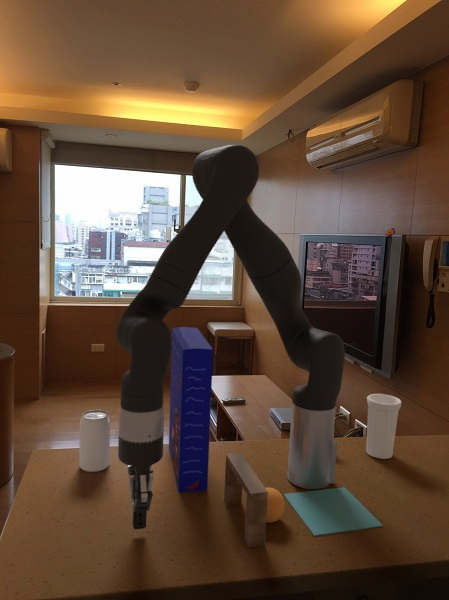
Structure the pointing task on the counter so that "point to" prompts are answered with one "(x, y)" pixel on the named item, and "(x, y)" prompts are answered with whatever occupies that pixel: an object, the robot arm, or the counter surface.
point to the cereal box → (190, 408)
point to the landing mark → (331, 511)
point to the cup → (381, 424)
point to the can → (94, 441)
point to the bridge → (257, 497)
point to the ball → (274, 505)
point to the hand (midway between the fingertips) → (139, 526)
